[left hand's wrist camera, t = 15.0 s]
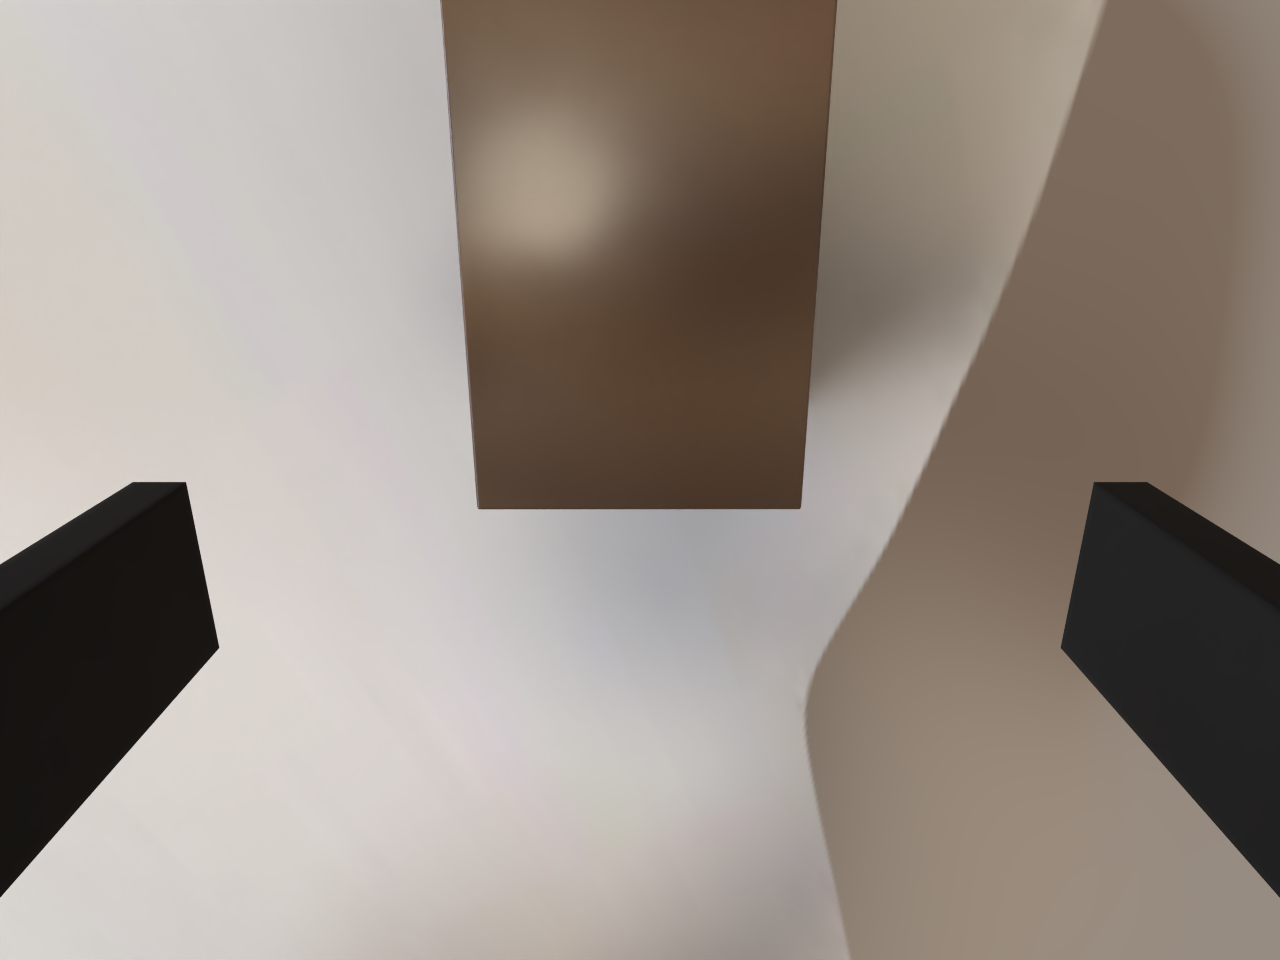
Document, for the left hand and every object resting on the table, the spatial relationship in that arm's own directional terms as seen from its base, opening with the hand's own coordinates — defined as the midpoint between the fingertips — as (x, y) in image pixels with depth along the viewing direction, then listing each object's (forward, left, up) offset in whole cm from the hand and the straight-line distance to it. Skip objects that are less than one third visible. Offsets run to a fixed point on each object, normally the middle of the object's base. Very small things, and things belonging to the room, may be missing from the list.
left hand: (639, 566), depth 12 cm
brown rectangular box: (+5, -1, -22) cm, 23 cm away
